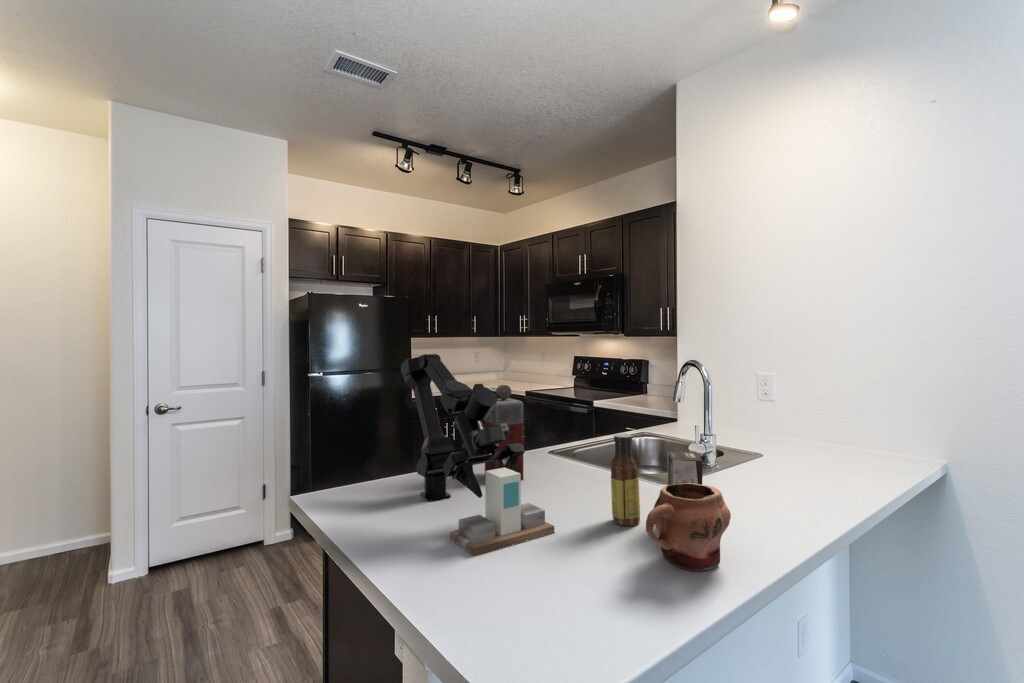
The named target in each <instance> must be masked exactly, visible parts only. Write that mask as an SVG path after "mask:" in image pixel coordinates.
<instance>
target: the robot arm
mask: <svg viewBox="0 0 1024 683" xmlns="http://www.w3.org/2000/svg"><path fill="white" fill-rule="evenodd" d="M400 373H401V376H403V379H404V383H405V384H406V385H407V386H408V387H409V388H410V389H411V390H412V391H413V394H414V400H415V403H416V408H417V412H418V417H419V422H420V425H421V429H422V434H423V437H424V441H423V444H422V447H421V449H420V454H421V456H420V458H419V460H418V462H417V464H416V466H415V468H416V474H417V475H419V476H421V477H422V478H424V480H423V481H424V491H422V492H419V495H420V496H422V497H423V499H425V500H426V501H428V502H430V501H436V500H442V499H448V498H451V497H452V495H451V494H450V493H449V492H448V491H447V478H451V479H452V480H456V481H458V482H459V483H460V484H462V485H463V486H465V487H466V488H467V489H468V490H469V491H471V492H472V493H473V495H475V496H476V497H477V498H479V499H481V498H482V496H483V493H482V490H481V489H482V488H481V486H480V484H479V482H478V480H477V477H476V475H475V472H474V467H473V466H476V465H480V464H481V465H482V464H485V463H488V462H494V461H499V463H500V465H502V466H503V467H502V468H507V469H510V470H513V471H515V472H517V462H518V461H519V459H520V458H521V457H522V455H523V456H524V454H525V453H526V450H525V449H524V448H525V447H524V445H523V446H522V445H521V444H520V443H514V444H507V445H505V447H504V448H503V450H502V451H501V452H495V449H497V448H498V447H499V444H498V443H499V442H501V441H505V440H506V439H505V438H507V437H509V436H510V430H509V428H508V426H507V424H506V423H502V424H499V425H497V426H496V427H490V428H485V424H484V423H483V421H485V419H486V418H487V417H488V415H489V413H490V412H491V410H492V409H493V407H494V405H495V404H496V402H497V399H498V396H497V395H496V392H494V391H493V390H491V389H490V388H488V387H485V386H484V384H483V383H474V385H473V387H472V388H471V387H469V386H468V385H467V384H466V383H464V382H463V383H462V382H461V381H459V380H457V379H456V378H455V377H454V375H453V374H452V373H451V372H450V369H448V367H447V366H446V365H445V364H444V363H443V361H442V359H441V357H440V355H439V354H437V353H422V354H420V355H418V356H417V357H412V358H406V359H405V360H404V362H402V363H401V366H400ZM432 382H433V384H434V386H435V387H436V388H437V389H438V391H439V393H440V394H441V397H440V402H441V404H442V407H443V409H444V410H445V412H447V413H448V414H455V413H456V414H457V413H458V414H457V416H456V417H455V418H454V421H453V423H452V428H453V430H455V429H458V432H459V434H460V437H461V438H462V441H463V443H462V444H461V447H462V449H466V450H467V451H465V450H462V451H456V450H455V448H454V446H453V440H452V438H451V437H450V436H446V435H444V434H443V430H442V427H441V422H440V419H439V414H438V411H437V406H436V402H435V397H434V395H433V390H432V386H431V383H432ZM455 451H456V452H455Z"/></svg>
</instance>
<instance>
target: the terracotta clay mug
mask: <svg viewBox="0 0 1024 683" xmlns="http://www.w3.org/2000/svg"><path fill="white" fill-rule="evenodd" d="M731 517H732V516H731V511H730V509H729V508H728V506H727V503H726V502H725V500H724V497H723V493H722V492H721V490H719V489H718V488H716V487H714V486H711V485H708V484H702V485H700V484H693V483H684V484H673V485H668V484H667V485H665V486H663V487H661V490H660V491H659V496H658V497H657V499H656V501H655V503H654V507H653V508H652V509H651V510H650V511H649V513H648V514H647V516H646V521H645V532H646V533H647V535H648V537H649V538H650V540H651V541H652V542H654V543H655V545H657V547H658V546H659V547H660V551H661V553H662V556H663V558H664V559H665V560H666V561H667V562H668V563H669V564H671V565H673V566H675V567H678V568H681V569H684V570H688V571H698V572H699V571H705V570H706V571H707V570H711V569H713V568H715V567H717V566H718V565H719V564H721V539H722V536H723V534H724V532H726V530H727V529H728V527H729V525H730V522H731ZM654 527H655V529H656V533H657V534H658V536H656V535H655V532H654Z"/></svg>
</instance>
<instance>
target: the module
mask: <svg viewBox="0 0 1024 683" xmlns="http://www.w3.org/2000/svg"><path fill="white" fill-rule="evenodd" d="M484 477H485V480H484V481H485V483H484V484H485V485H484V486H485V488H484V489H485V494H484V496H485V498H484V499H485V500H484V501H485V502H484V503H485V505H484V506H485V513H484V514H485V516H484V517H485V518H486V519H488V520H490V521H492V522H493V523H495V533H497V534H499V535H500V536H503V535H506V534H510V533H513V532H517V531H521V502H522V498H521V497H522V492H521V491H522V488H521V487H522V486H521V485H522V482H521V481H522V480H521V474H520V473H518V472H515V471H513V470H510V469H507V468H499V469H494V470H488V471H485V470H484Z"/></svg>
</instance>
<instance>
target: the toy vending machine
mask: <svg viewBox="0 0 1024 683" xmlns="http://www.w3.org/2000/svg"><path fill="white" fill-rule="evenodd" d="M495 394H496V396H497V402H496V404H495V405H494V407H493V409H492V410H491V412H490V413H489V415H488V417H487V418H486V419H485V420H484V427H485V428H490V427H496V426H497V425H499V424H502V423H506V424H507V426H508V428H509V430H510V436H509V437H507V438H505V439H506V440H505V441H501V442H499V443H498V444H499V447H498V448H497V449H495V452H501V451H502V450H503V448H504V447H505V445H507V444H514V443H520V444H521V445H522V446H523V447H524V402H523V401H521V400H518V399H515V398H510V397H511V396H512V389H511V387H510V385H506V384H499V385H498V386H497V388H496V389H495ZM502 467H503V466H502V465H500V463H499V461H494V462H488V463H484V472H485V471H488V470H494V469H499V468H502ZM517 472H518V473H520V474H521V481H524V454H523V455H522V457H521V458H520V459H519V461H518V462H517Z"/></svg>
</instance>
